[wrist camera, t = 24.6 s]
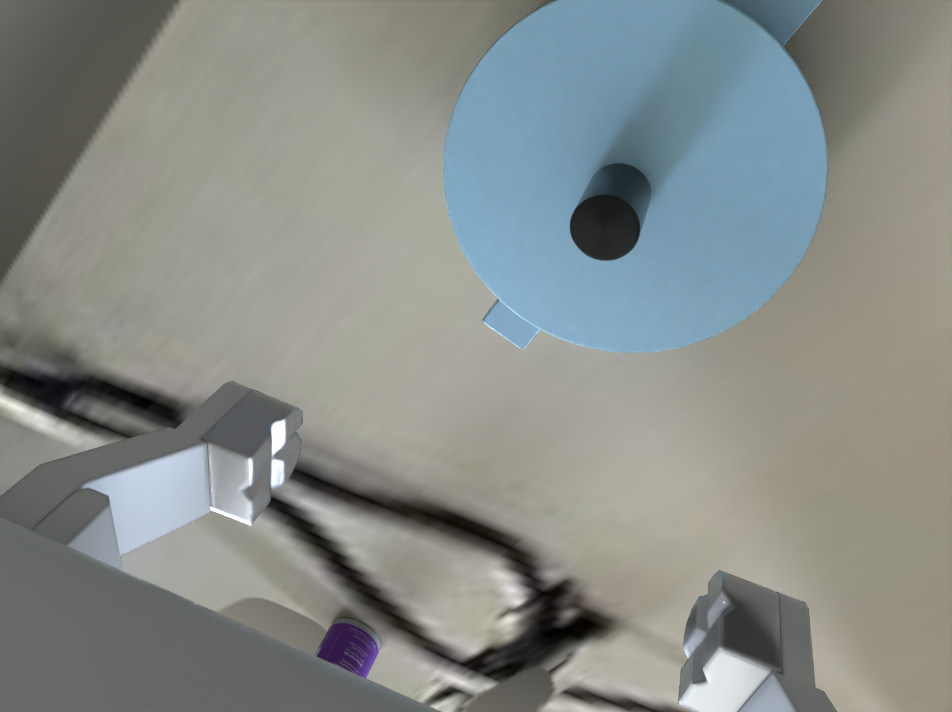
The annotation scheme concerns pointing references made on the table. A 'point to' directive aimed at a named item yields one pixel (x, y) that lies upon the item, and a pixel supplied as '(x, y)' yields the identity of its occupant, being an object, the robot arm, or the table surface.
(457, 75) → the table surface
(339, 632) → the container
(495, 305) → the pan
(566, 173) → the pan lid
